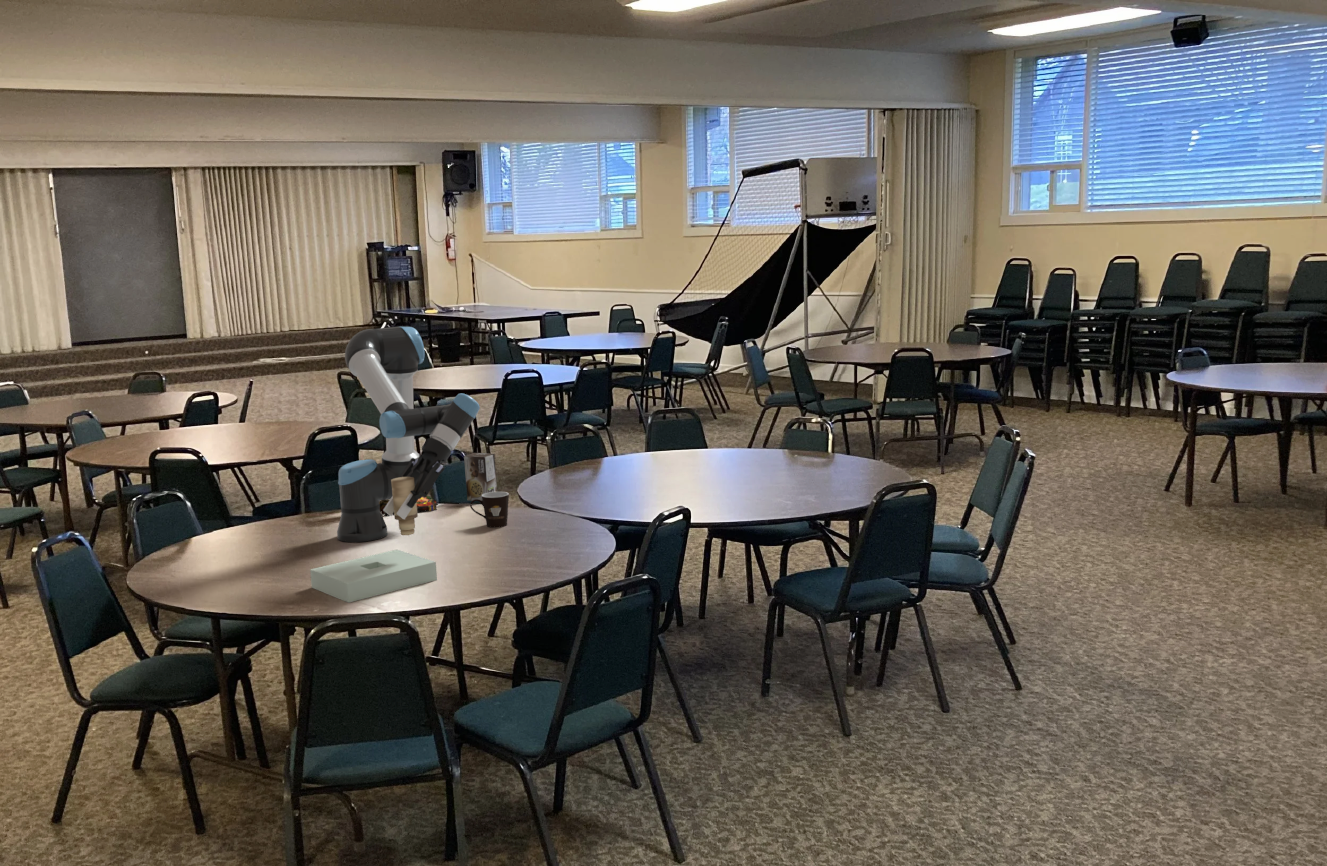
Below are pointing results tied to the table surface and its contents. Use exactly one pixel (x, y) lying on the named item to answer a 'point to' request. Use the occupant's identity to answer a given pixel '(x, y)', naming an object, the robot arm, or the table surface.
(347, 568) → the sage board
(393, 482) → the beech peg
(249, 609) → the table surface
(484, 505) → the coffee mug
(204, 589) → the table surface
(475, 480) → the printed box
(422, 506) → the food
